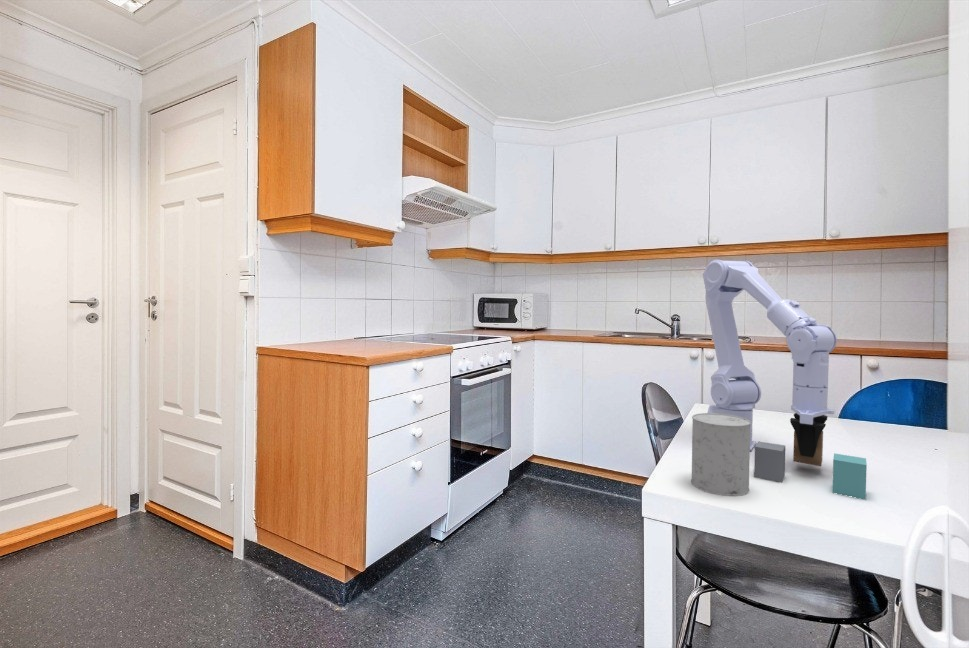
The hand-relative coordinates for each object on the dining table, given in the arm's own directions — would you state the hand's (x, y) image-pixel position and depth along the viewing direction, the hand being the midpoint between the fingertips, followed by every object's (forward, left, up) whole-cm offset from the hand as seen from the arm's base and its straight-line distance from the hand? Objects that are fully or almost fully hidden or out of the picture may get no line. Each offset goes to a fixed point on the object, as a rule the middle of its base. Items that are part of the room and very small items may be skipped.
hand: (808, 452), depth 92 cm
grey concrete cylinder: (-12, -20, -4) cm, 24 cm away
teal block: (+7, -9, -4) cm, 12 cm away
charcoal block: (-5, -9, -4) cm, 11 cm away
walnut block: (0, 0, -2) cm, 2 cm away
